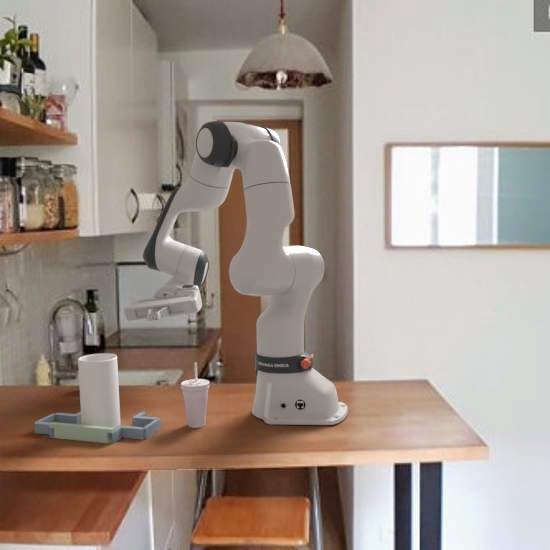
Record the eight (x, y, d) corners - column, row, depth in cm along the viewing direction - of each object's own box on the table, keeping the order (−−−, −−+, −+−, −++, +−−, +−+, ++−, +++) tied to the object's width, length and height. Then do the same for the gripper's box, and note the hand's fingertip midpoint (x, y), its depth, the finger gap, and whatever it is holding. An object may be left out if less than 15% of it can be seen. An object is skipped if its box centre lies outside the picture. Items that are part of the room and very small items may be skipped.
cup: (106, 436, 121) (102, 362, 119) (73, 433, 123) (69, 360, 122) (127, 423, 128) (124, 354, 127) (97, 420, 131) (93, 352, 130)
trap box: (168, 423, 128) (167, 410, 127) (136, 446, 115) (135, 431, 114) (68, 415, 135) (68, 402, 135) (28, 435, 122) (27, 421, 122)
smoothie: (216, 421, 128) (213, 360, 127) (203, 431, 122) (201, 367, 121) (190, 419, 130) (188, 359, 129) (177, 428, 124) (174, 365, 123)
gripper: (133, 293, 157) (112, 310, 144) (203, 284, 153) (187, 301, 140) (138, 314, 159) (118, 333, 146) (207, 306, 155) (193, 324, 142)
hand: (152, 317), depth 143 cm, fingers closed
